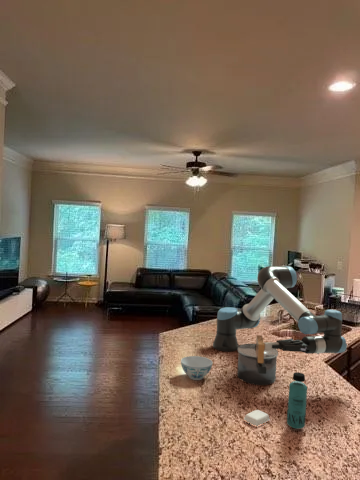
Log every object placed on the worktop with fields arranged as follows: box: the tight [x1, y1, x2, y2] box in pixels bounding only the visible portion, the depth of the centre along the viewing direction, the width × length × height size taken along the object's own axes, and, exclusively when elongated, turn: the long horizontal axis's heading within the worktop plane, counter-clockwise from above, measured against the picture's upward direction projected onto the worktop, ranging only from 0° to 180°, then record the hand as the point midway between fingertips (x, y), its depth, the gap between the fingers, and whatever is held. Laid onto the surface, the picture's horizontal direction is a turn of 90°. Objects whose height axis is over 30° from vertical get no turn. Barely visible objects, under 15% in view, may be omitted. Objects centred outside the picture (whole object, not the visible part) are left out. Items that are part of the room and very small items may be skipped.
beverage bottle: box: [286, 372, 308, 430], centre depth 137 cm, size 6×7×20 cm
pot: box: [237, 352, 278, 386], centre depth 181 cm, size 32×18×12 cm, turn 175°
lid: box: [237, 334, 279, 363], centre depth 179 cm, size 28×19×9 cm, turn 172°
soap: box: [243, 409, 271, 426], centre depth 142 cm, size 9×7×3 cm
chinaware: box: [180, 355, 213, 381], centre depth 181 cm, size 15×15×8 cm
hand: (264, 345), depth 169 cm, fingers closed
